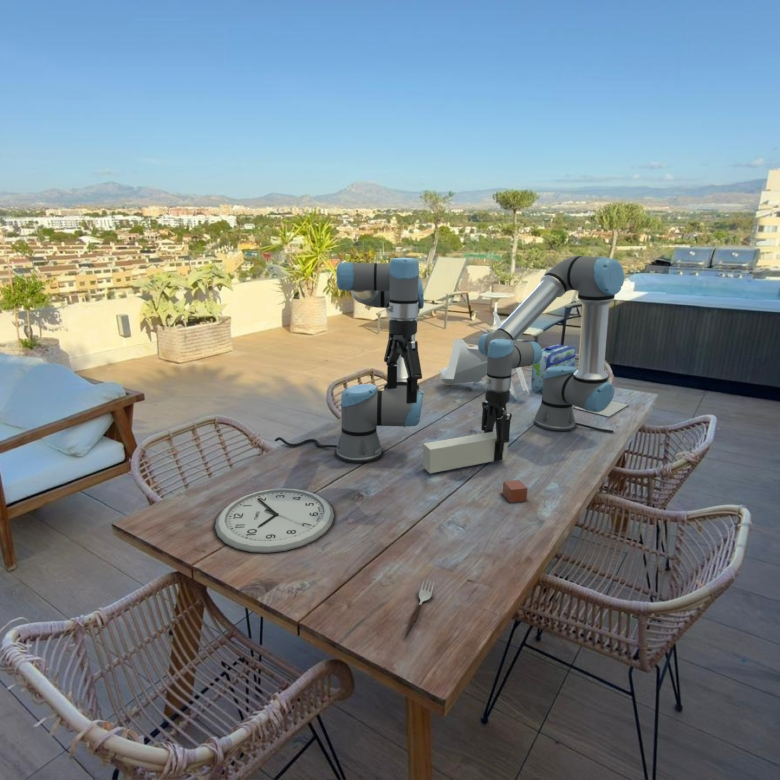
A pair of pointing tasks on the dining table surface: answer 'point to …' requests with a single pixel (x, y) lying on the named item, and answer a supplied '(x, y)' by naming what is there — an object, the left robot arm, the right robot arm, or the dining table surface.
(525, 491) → the terracotta block
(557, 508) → the dining table surface
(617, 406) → the invitation card
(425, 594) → the fork
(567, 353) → the lunch box
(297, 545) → the wall clock
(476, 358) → the white plastic object
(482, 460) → the beam
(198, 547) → the dining table surface
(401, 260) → the left robot arm
